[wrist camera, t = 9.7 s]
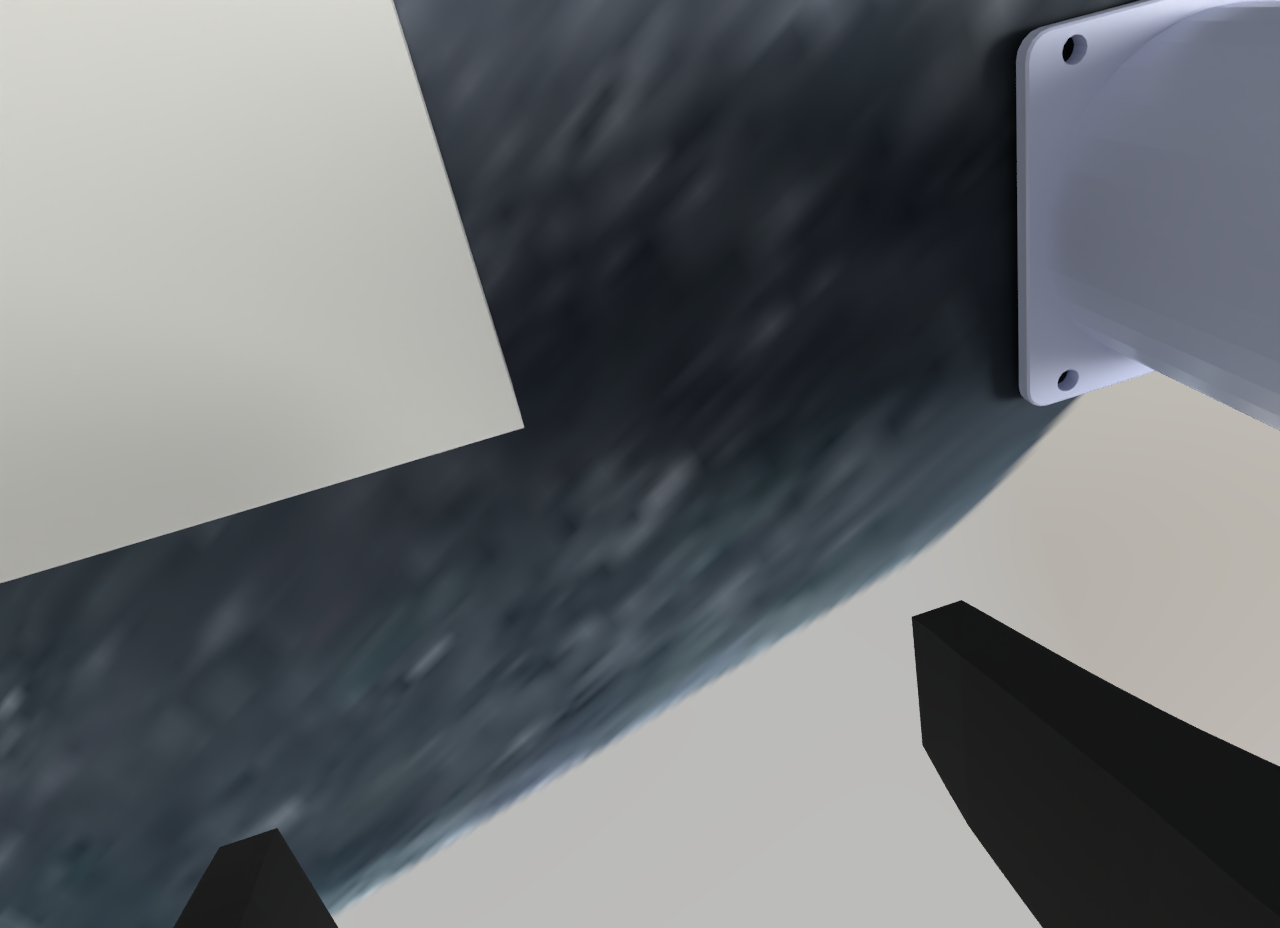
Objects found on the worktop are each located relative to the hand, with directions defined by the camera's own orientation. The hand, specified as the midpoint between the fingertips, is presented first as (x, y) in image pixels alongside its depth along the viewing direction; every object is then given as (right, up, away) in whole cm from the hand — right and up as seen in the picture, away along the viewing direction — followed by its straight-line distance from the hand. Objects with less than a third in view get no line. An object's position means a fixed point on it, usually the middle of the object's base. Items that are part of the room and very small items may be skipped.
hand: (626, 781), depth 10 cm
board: (-8, +8, +5) cm, 13 cm away
